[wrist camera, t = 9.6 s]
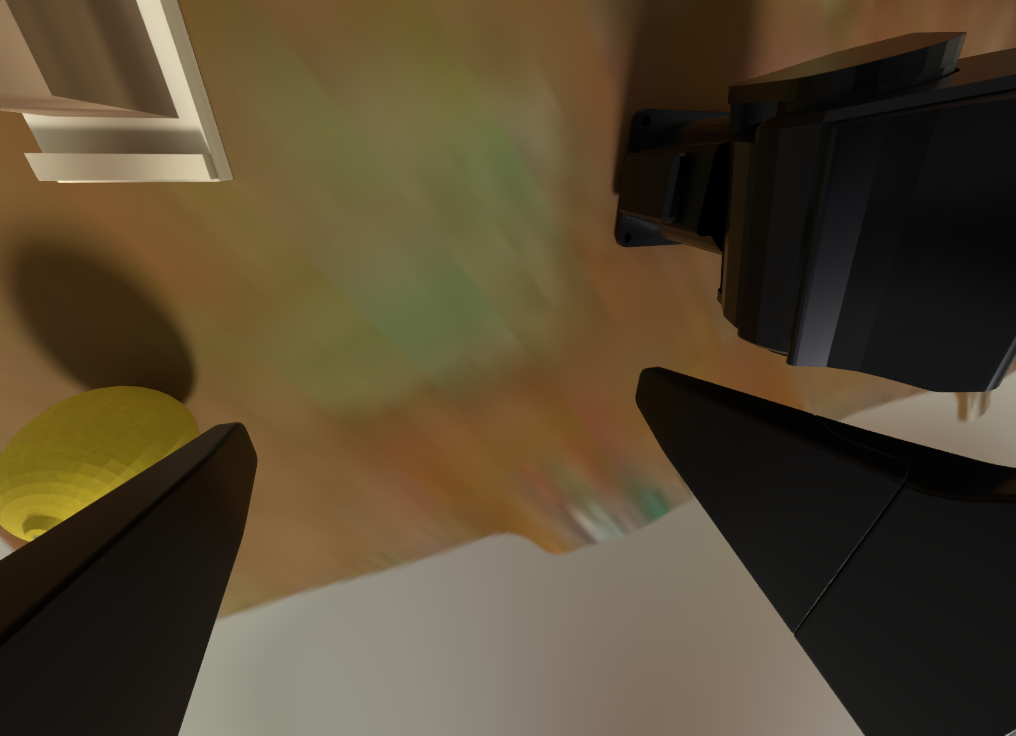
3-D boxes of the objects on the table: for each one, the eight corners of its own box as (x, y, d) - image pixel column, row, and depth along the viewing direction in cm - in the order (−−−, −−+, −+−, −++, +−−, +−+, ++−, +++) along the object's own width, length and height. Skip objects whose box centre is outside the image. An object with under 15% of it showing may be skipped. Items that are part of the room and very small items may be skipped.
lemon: (55, 381, 18) (-152, 521, 11) (177, 340, 18) (51, 450, 11) (145, 461, 20) (26, 610, 14) (247, 424, 21) (180, 551, 14)
